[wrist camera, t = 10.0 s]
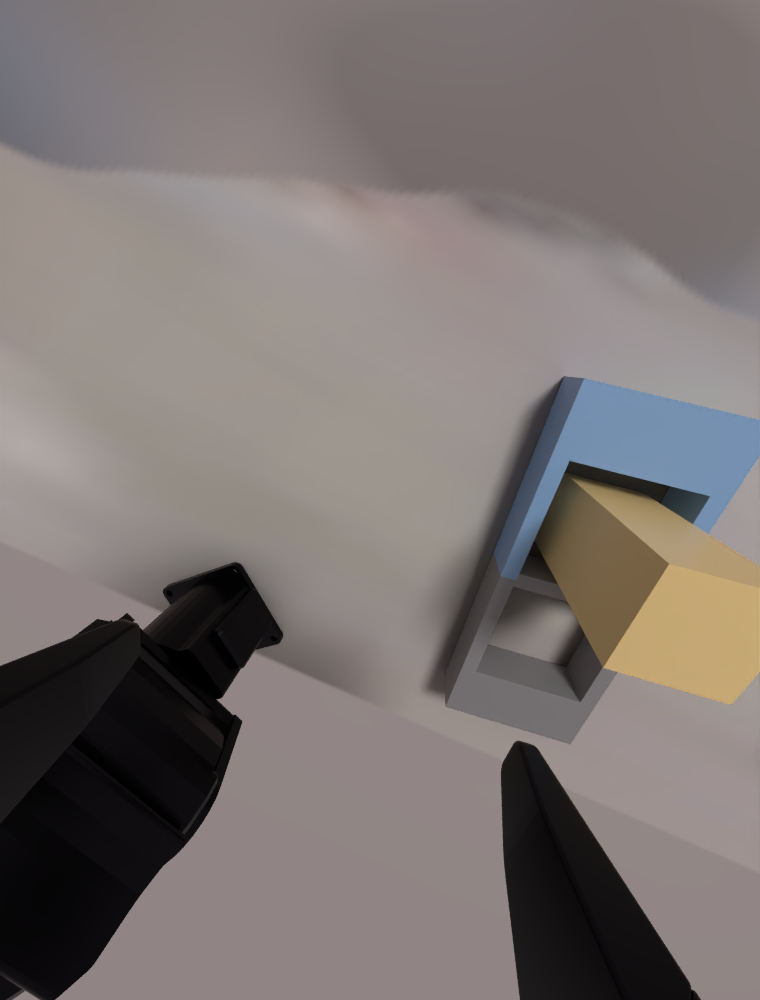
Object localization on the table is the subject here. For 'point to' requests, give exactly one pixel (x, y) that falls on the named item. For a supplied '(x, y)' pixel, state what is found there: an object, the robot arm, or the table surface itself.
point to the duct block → (508, 675)
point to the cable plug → (653, 589)
